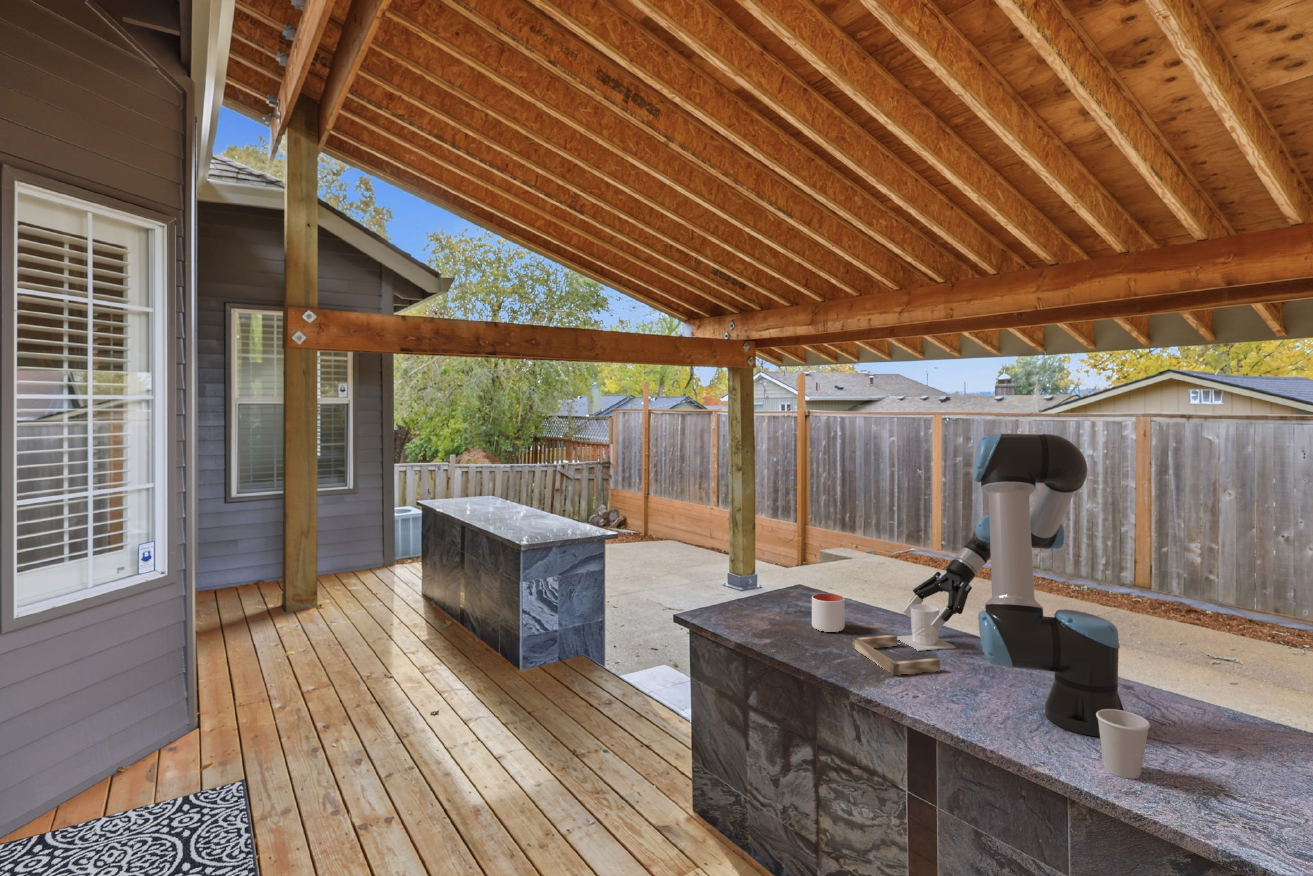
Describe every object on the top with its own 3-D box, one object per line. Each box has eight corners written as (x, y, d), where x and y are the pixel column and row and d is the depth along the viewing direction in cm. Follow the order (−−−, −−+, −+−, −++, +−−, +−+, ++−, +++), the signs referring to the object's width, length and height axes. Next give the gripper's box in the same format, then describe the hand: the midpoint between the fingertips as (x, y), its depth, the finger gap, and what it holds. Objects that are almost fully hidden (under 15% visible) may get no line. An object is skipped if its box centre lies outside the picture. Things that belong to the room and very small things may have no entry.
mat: (955, 648, 194) (955, 646, 194) (918, 651, 191) (918, 649, 191) (929, 635, 206) (929, 633, 206) (894, 638, 203) (894, 636, 203)
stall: (894, 644, 197) (894, 634, 197) (939, 671, 177) (939, 659, 177) (852, 648, 194) (852, 638, 194) (893, 675, 174) (893, 664, 174)
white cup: (934, 637, 202) (934, 604, 202) (942, 646, 194) (943, 612, 194) (907, 636, 203) (907, 603, 202) (914, 645, 195) (914, 611, 195)
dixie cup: (1127, 759, 131) (1128, 708, 131) (1160, 782, 123) (1161, 728, 123) (1085, 759, 131) (1086, 709, 131) (1115, 783, 123) (1116, 728, 122)
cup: (805, 626, 215) (805, 595, 214) (830, 622, 219) (830, 591, 219) (825, 635, 206) (825, 603, 205) (851, 631, 210) (851, 599, 210)
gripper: (1002, 585, 190) (955, 642, 187) (945, 566, 214) (902, 616, 211) (986, 567, 188) (938, 625, 185) (930, 550, 212) (887, 601, 210)
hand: (919, 620), depth 198 cm, fingers open, 13 cm apart
